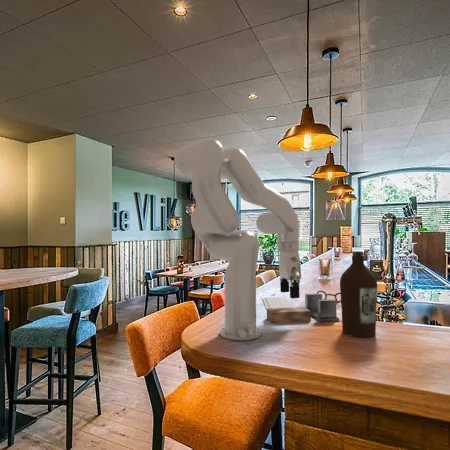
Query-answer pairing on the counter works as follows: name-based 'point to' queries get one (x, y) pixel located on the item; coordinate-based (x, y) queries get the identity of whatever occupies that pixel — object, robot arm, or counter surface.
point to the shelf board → (288, 315)
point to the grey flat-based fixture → (321, 307)
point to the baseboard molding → (276, 302)
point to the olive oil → (358, 299)
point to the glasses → (331, 295)
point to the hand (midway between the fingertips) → (289, 294)
